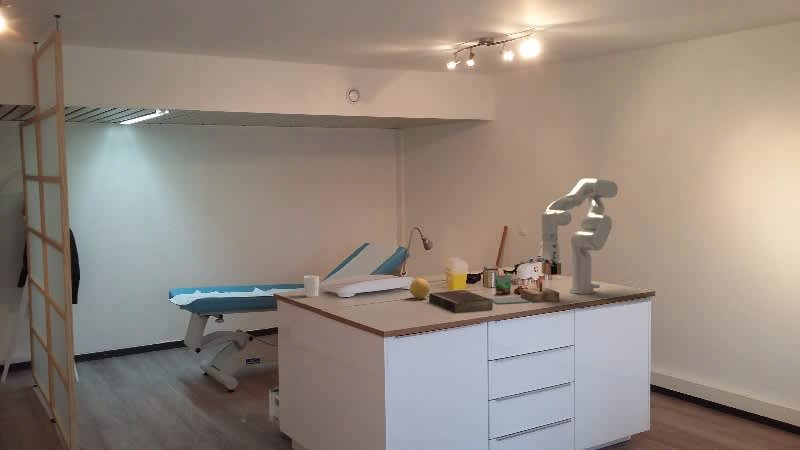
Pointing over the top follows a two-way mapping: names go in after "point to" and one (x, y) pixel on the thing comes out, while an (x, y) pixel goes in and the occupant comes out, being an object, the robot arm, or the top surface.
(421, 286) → the stress ball
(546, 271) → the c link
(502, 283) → the food container
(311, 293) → the white cup
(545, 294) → the stand
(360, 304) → the top surface
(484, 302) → the hardback book
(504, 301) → the mat
